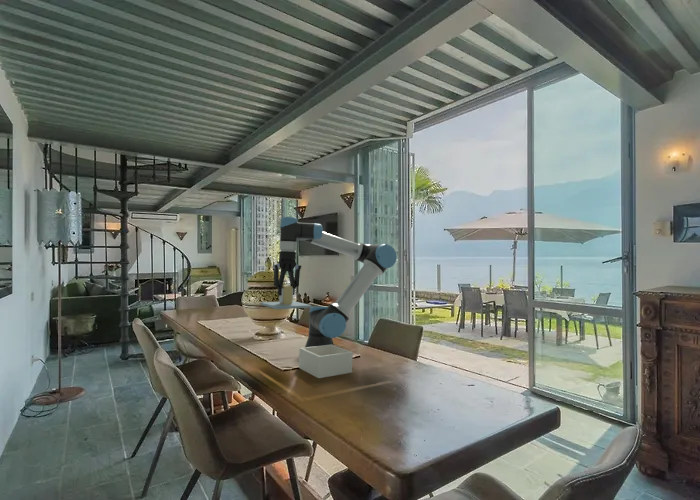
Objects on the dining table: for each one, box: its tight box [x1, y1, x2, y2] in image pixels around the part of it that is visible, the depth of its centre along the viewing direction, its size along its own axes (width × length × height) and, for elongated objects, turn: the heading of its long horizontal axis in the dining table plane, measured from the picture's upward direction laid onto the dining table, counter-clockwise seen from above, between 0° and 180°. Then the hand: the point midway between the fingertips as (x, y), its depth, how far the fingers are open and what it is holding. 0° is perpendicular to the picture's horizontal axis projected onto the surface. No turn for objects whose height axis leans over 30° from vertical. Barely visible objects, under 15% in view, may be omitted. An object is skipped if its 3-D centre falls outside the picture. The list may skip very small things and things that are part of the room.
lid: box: [260, 285, 313, 310], centre depth 174 cm, size 17×17×9 cm
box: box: [298, 344, 354, 379], centre depth 159 cm, size 16×16×9 cm
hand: (285, 302), depth 174 cm, fingers closed on lid, 4 cm apart
